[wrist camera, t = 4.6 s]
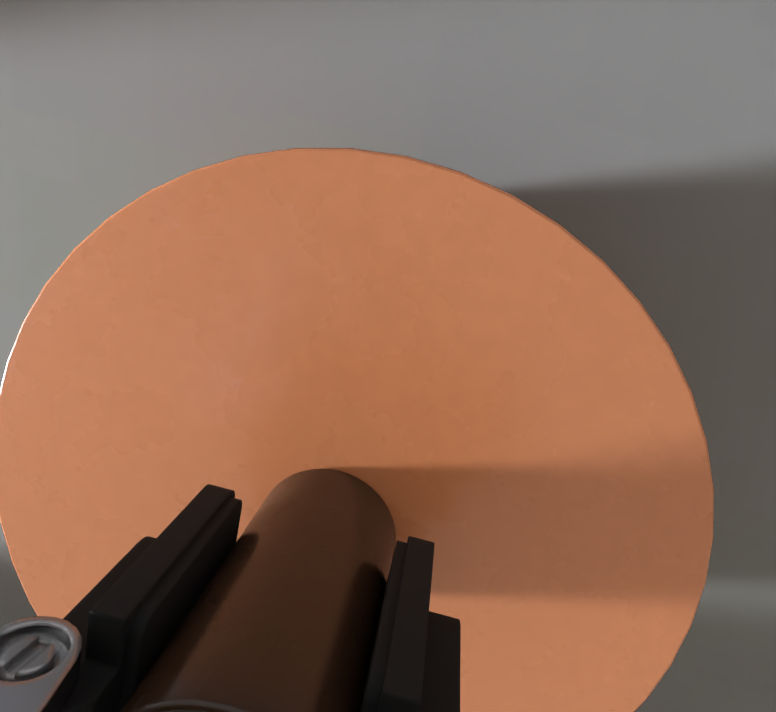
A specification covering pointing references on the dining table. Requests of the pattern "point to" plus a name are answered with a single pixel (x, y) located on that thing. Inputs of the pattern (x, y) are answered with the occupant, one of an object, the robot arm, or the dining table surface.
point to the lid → (361, 435)
